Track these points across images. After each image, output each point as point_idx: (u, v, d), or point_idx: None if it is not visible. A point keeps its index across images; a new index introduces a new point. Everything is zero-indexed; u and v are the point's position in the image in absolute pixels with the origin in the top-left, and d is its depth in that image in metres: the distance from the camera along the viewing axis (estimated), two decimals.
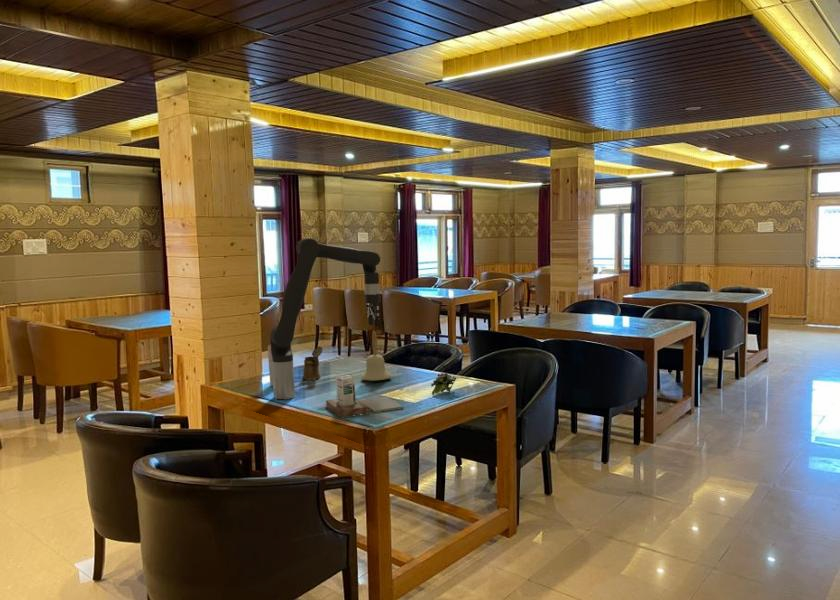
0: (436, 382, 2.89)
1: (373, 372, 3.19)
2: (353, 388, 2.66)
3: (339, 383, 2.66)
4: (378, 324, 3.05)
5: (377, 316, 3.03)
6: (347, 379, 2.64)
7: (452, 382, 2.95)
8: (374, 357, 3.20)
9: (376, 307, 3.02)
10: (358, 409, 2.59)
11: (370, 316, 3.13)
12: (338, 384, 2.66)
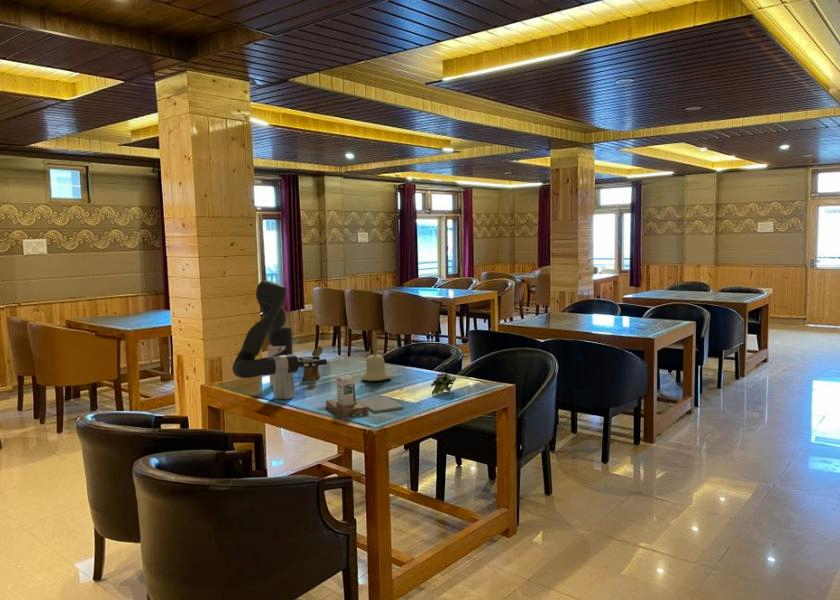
0: (436, 382, 2.89)
1: (373, 372, 3.18)
2: (353, 388, 2.66)
3: (339, 383, 2.66)
4: None
5: None
6: (347, 379, 2.64)
7: (452, 382, 2.95)
8: (374, 357, 3.20)
9: None
10: (358, 409, 2.59)
11: None
12: (338, 384, 2.66)
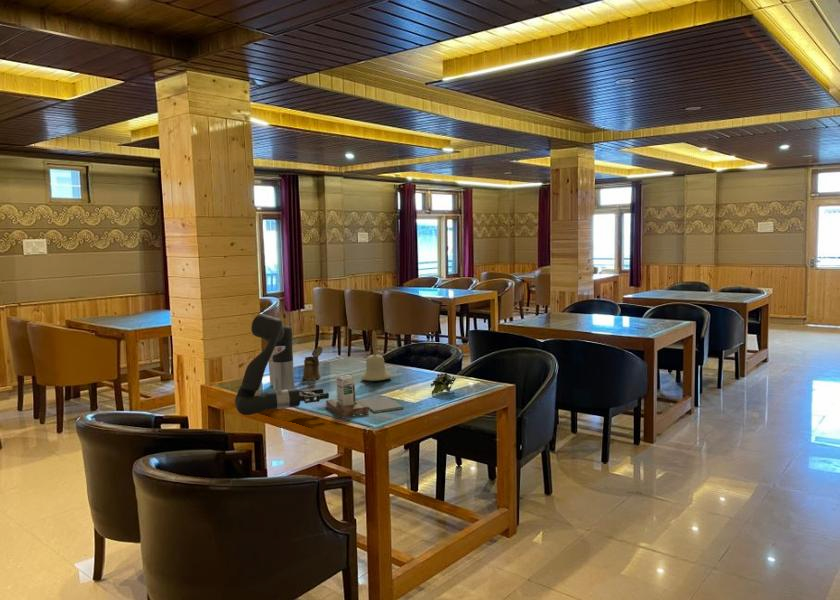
0: (436, 382, 2.89)
1: (373, 372, 3.19)
2: (353, 388, 2.66)
3: (339, 383, 2.66)
4: None
5: None
6: (347, 379, 2.64)
7: (451, 382, 2.95)
8: (374, 357, 3.20)
9: None
10: (358, 409, 2.59)
11: None
12: (338, 384, 2.66)
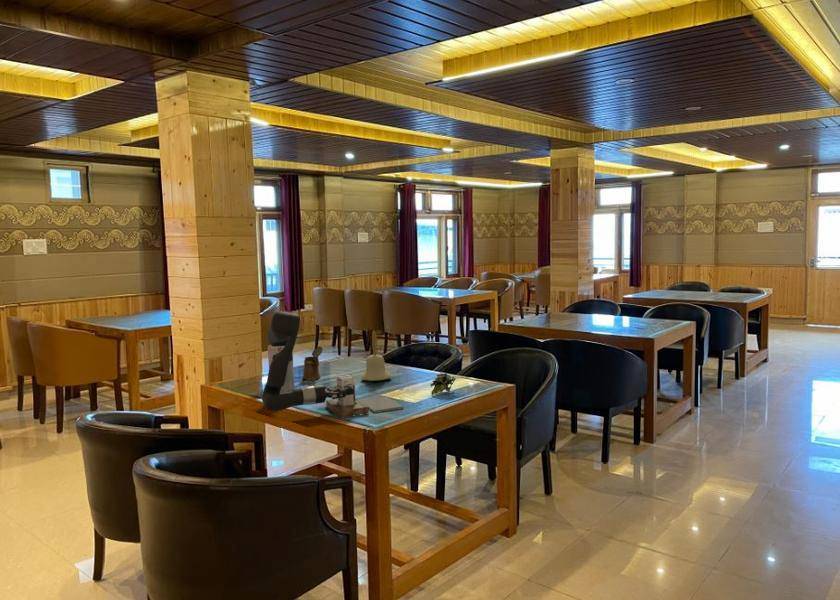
0: (435, 382, 2.89)
1: (373, 372, 3.19)
2: (353, 388, 2.66)
3: (339, 383, 2.66)
4: None
5: None
6: (347, 379, 2.64)
7: (451, 382, 2.95)
8: (374, 357, 3.20)
9: None
10: (358, 409, 2.59)
11: None
12: (338, 384, 2.66)
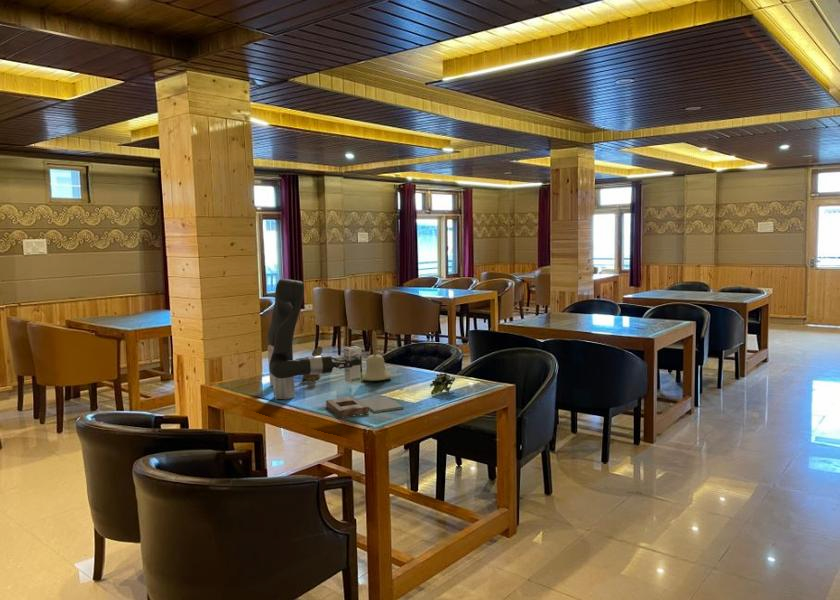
0: (435, 382, 2.89)
1: (373, 372, 3.18)
2: (360, 359, 2.65)
3: (346, 354, 2.66)
4: None
5: None
6: (354, 349, 2.64)
7: (451, 382, 2.94)
8: (374, 357, 3.20)
9: None
10: (358, 409, 2.59)
11: None
12: (345, 354, 2.66)
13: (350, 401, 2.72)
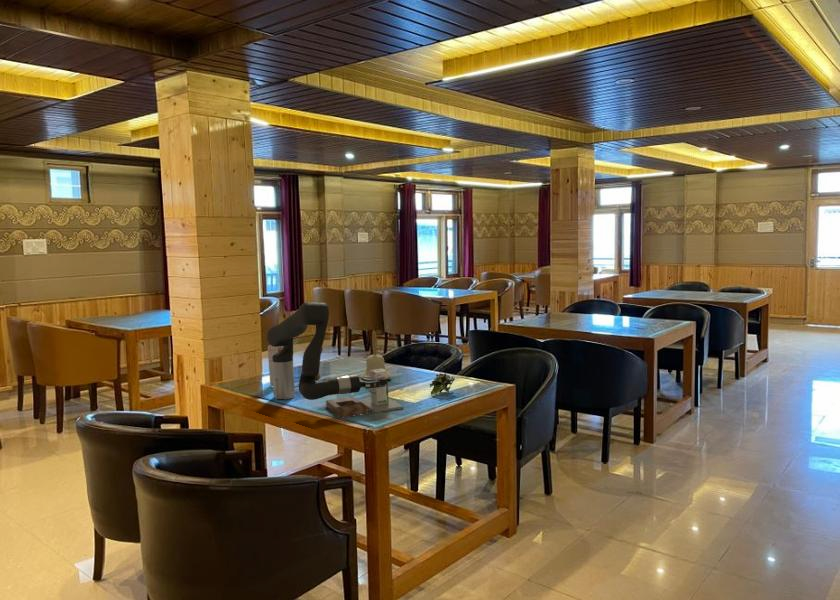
0: (435, 382, 2.89)
1: None
2: None
3: (372, 376, 2.72)
4: None
5: None
6: (380, 372, 2.70)
7: (450, 382, 2.94)
8: (374, 357, 3.20)
9: None
10: (358, 409, 2.59)
11: None
12: (371, 377, 2.72)
13: (350, 401, 2.72)
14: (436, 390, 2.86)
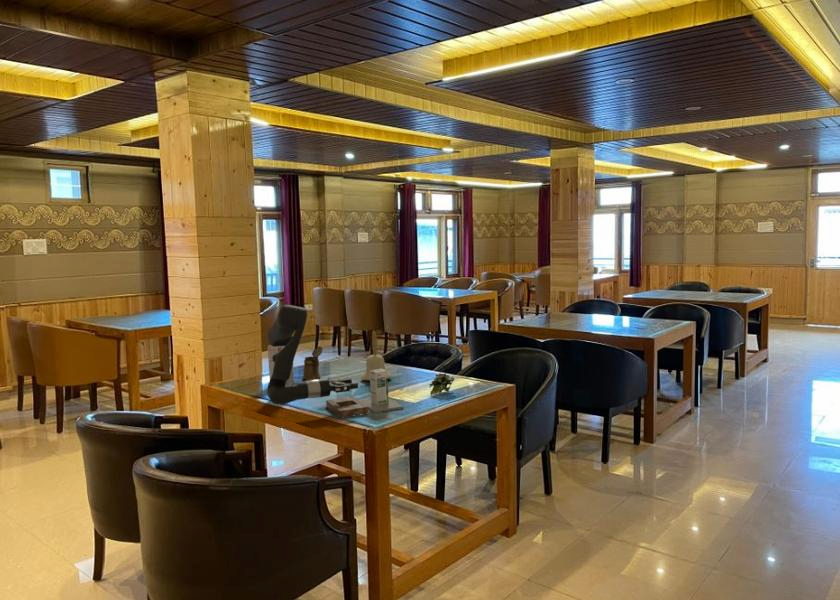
0: (434, 382, 2.89)
1: None
2: (386, 381, 2.71)
3: (372, 376, 2.72)
4: None
5: None
6: (380, 372, 2.70)
7: (450, 382, 2.94)
8: (374, 357, 3.20)
9: None
10: (358, 409, 2.59)
11: None
12: (371, 377, 2.72)
13: (350, 401, 2.72)
14: (436, 390, 2.85)
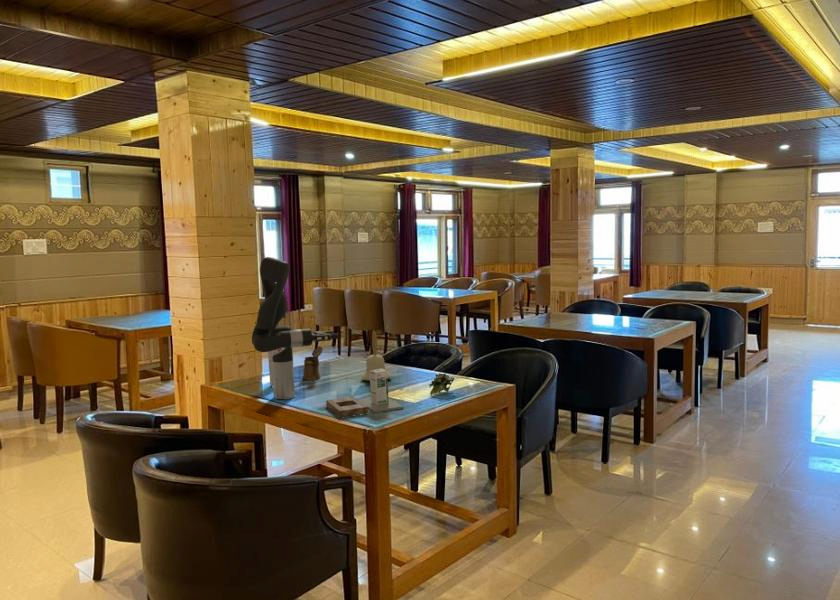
0: (434, 382, 2.89)
1: None
2: (386, 381, 2.71)
3: (372, 376, 2.72)
4: None
5: None
6: (380, 372, 2.70)
7: (450, 382, 2.94)
8: (374, 357, 3.20)
9: None
10: (358, 409, 2.59)
11: None
12: (371, 377, 2.72)
13: (350, 401, 2.72)
14: (436, 390, 2.85)
